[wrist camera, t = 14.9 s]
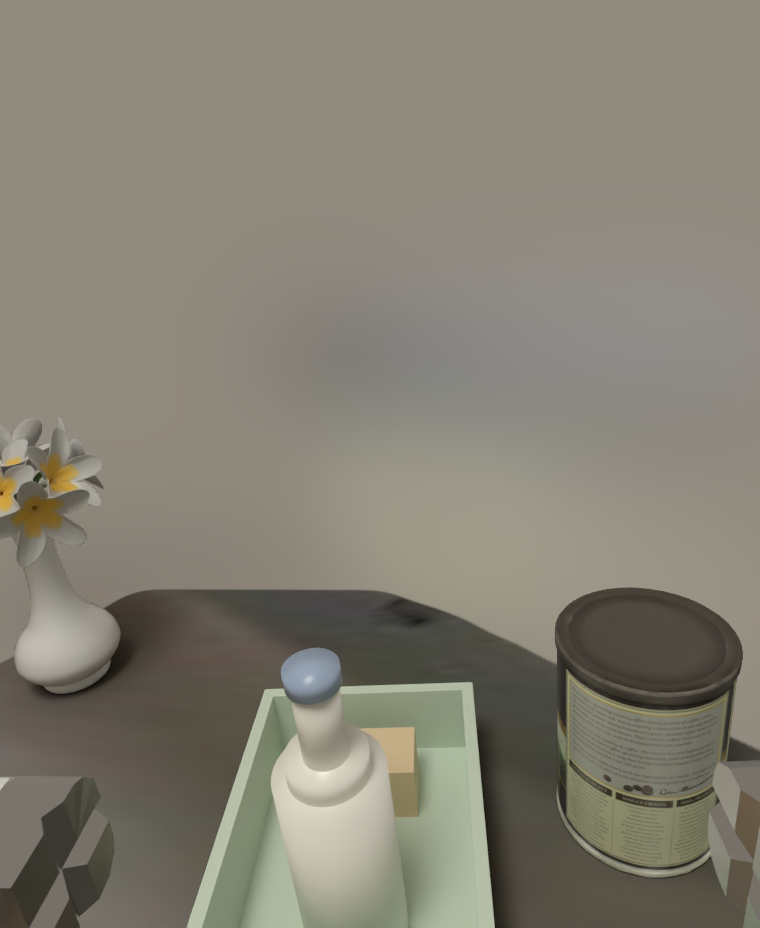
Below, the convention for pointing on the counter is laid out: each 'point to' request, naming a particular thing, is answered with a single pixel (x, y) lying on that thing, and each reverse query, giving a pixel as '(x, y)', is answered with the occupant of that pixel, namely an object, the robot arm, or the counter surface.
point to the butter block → (400, 767)
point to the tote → (420, 838)
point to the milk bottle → (336, 807)
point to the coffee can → (642, 725)
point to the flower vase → (53, 558)
